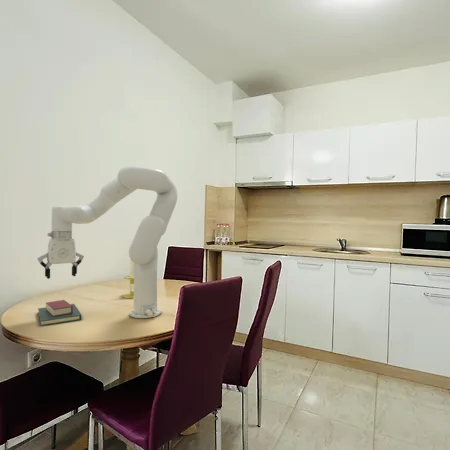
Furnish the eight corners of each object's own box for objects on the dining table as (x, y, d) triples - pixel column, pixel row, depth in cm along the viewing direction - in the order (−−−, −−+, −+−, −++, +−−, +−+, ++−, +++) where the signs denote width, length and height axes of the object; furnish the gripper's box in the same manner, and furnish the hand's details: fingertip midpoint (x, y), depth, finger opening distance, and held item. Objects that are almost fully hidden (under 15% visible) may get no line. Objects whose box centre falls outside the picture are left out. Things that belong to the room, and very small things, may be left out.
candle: (118, 296, 167) (118, 244, 166) (133, 292, 175) (133, 243, 174) (131, 299, 161) (131, 245, 161) (146, 295, 169) (146, 244, 169)
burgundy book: (72, 313, 130) (72, 306, 130) (53, 316, 125) (53, 309, 125) (64, 306, 140) (63, 299, 140) (45, 309, 135) (45, 302, 135)
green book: (81, 319, 128) (81, 314, 128) (40, 326, 120) (40, 320, 120) (74, 308, 145) (74, 303, 145) (38, 313, 137) (38, 308, 137)
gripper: (39, 236, 125) (39, 280, 125) (86, 235, 136) (85, 276, 136) (36, 235, 130) (35, 277, 131) (81, 234, 141) (80, 273, 142)
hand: (61, 276), depth 133 cm, fingers open, 9 cm apart
